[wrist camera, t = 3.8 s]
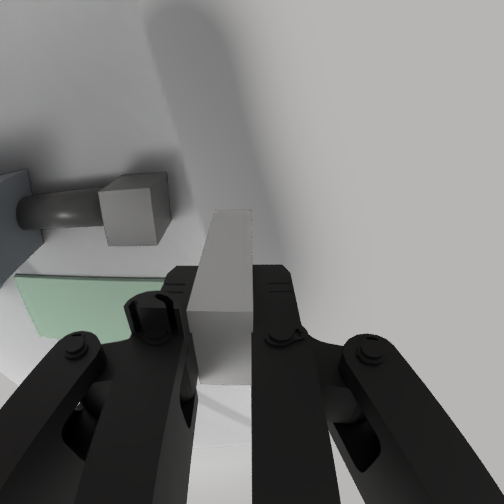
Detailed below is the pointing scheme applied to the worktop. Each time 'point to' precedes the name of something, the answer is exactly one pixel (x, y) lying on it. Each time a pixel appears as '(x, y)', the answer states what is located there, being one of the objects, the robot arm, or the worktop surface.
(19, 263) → the plug
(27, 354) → the worktop surface
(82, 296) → the mat
